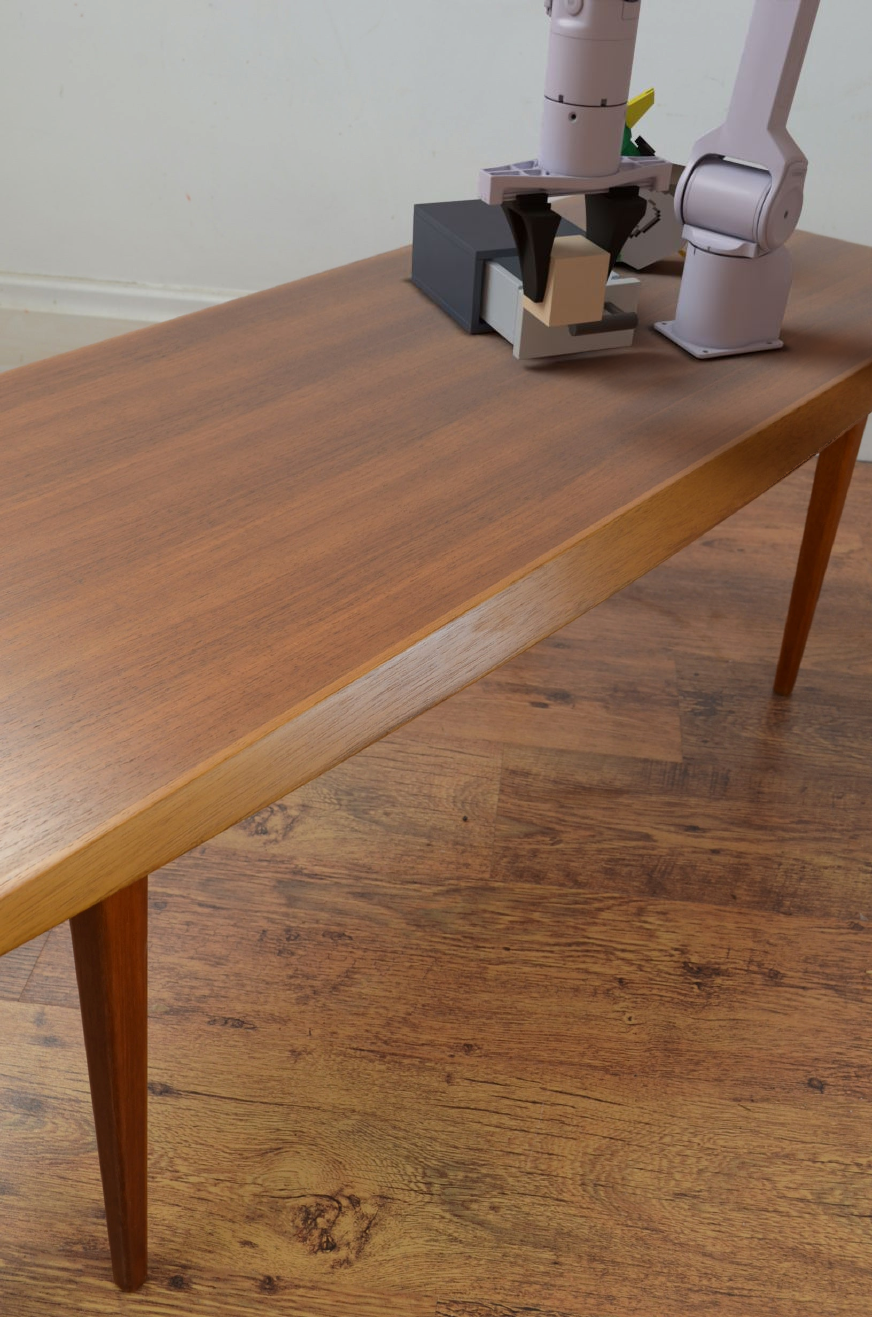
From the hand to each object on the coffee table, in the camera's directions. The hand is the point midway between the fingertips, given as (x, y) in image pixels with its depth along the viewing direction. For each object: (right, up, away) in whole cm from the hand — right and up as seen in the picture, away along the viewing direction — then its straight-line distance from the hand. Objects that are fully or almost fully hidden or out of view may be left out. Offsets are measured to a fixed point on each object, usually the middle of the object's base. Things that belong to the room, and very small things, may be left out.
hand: (563, 294), depth 86 cm
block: (0, -1, +1) cm, 1 cm away
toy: (+13, +15, +38) cm, 43 cm away
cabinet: (-4, +8, +27) cm, 29 cm away
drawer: (+1, +2, +18) cm, 19 cm away
